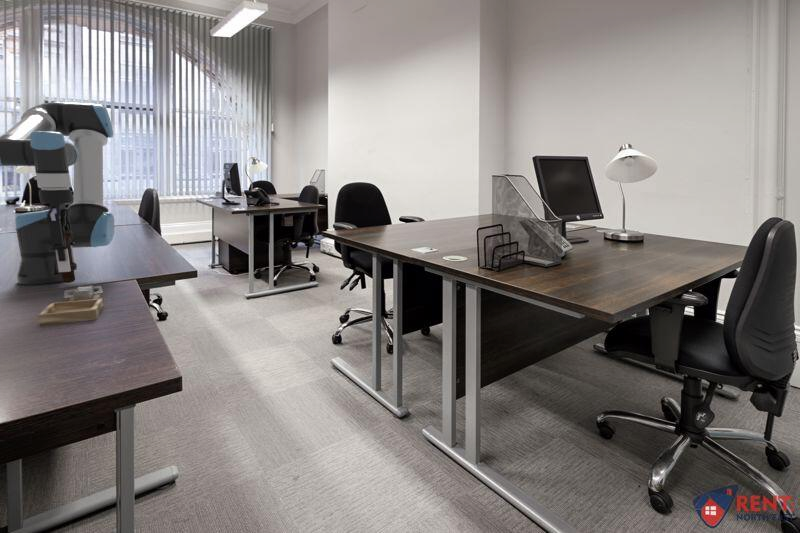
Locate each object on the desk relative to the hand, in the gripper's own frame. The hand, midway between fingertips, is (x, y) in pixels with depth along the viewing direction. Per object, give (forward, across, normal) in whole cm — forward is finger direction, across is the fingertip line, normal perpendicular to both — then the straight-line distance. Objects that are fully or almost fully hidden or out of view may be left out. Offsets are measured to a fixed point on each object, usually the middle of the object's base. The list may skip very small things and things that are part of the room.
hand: (67, 269), depth 133 cm
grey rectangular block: (+8, +9, +5) cm, 13 cm away
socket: (+8, +17, +5) cm, 20 cm away
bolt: (+4, 0, 0) cm, 4 cm away
